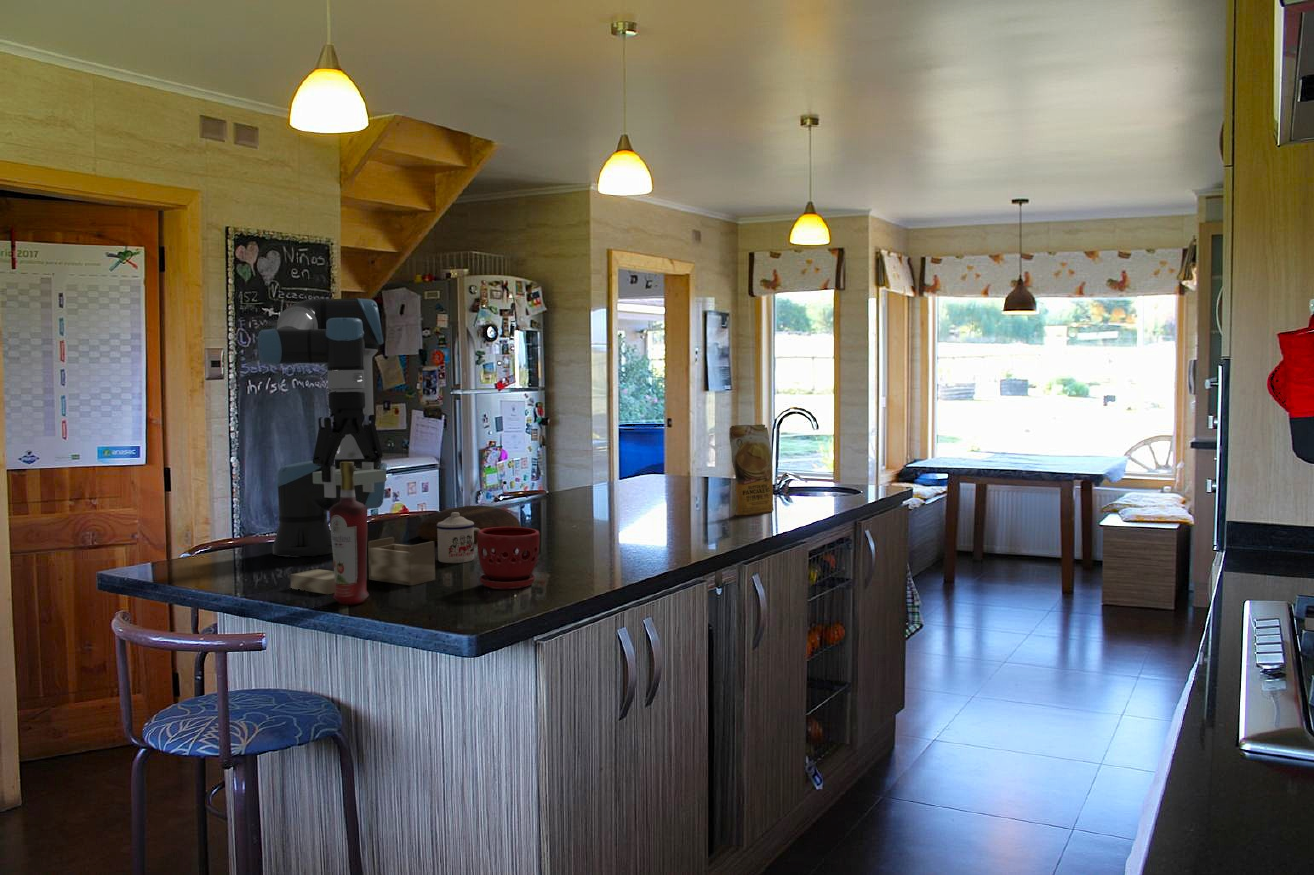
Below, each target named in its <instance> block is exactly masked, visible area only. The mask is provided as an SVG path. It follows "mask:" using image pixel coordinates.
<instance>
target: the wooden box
mask: <svg viewBox="0 0 1314 875" xmlns="http://www.w3.org/2000/svg"><path fill="white" fill-rule="evenodd" d="M367 548H368V550H367V551H368V554H367V555H368V579H369V580H370V581H371V580H372V581H376V582H377V581H378V582H384V583H391V584H397V585H398V584H399V585H405V586H415V585H420V584H423V583H428V582H429V583H430V582H432V581H436V560H435V559H436V556H435V555H436V554H435V542H434V541H427V542H422V543H418V544H411V545H408V544H402V543H401V544H399V543H395V537H394V536H389V537H386V538H385V537H384V538H379V539H375V540H369V541H368V540H367Z"/></svg>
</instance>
